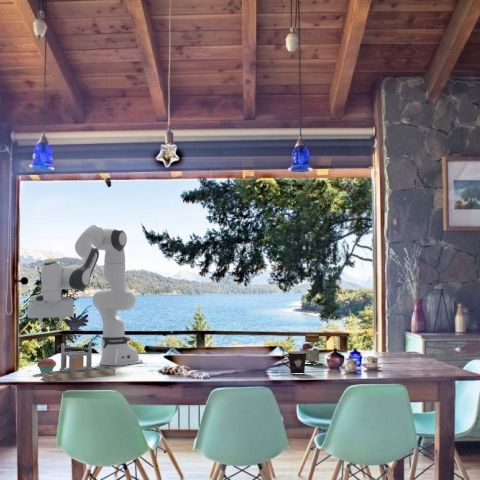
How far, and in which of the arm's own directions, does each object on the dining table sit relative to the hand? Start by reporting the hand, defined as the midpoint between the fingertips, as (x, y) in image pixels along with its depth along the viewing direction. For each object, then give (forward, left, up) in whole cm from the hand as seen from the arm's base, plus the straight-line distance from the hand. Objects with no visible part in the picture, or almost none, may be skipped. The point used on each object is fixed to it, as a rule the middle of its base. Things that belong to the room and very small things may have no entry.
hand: (50, 327), depth 271 cm
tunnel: (-12, 0, -21) cm, 24 cm away
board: (-13, 0, -23) cm, 27 cm away
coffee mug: (-101, +49, -23) cm, 115 cm away
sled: (-12, 0, -20) cm, 23 cm away
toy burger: (-127, +30, -23) cm, 133 cm away
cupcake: (-3, -17, -23) cm, 29 cm away
